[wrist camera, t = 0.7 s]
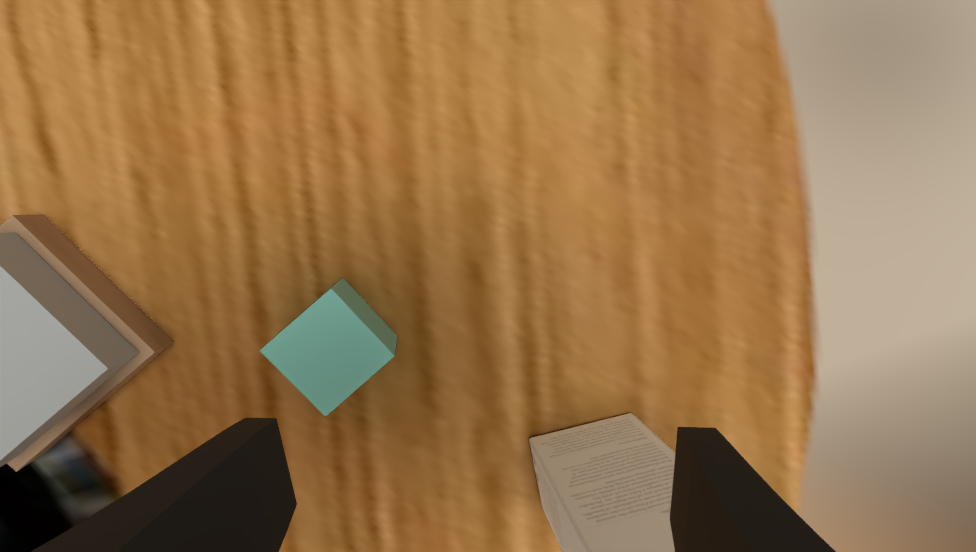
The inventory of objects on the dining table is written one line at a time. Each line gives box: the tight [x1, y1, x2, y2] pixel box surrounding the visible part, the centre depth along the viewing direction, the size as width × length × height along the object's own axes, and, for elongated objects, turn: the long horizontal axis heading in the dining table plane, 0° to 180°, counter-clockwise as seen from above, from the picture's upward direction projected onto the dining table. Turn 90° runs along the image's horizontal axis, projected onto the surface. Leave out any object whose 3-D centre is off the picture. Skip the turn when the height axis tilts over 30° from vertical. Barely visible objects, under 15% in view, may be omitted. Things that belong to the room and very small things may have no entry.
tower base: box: [0, 215, 174, 472], centre depth 25 cm, size 8×8×2 cm
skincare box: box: [529, 413, 675, 552], centre depth 24 cm, size 6×4×12 cm
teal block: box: [260, 278, 397, 417], centre depth 26 cm, size 4×4×4 cm
